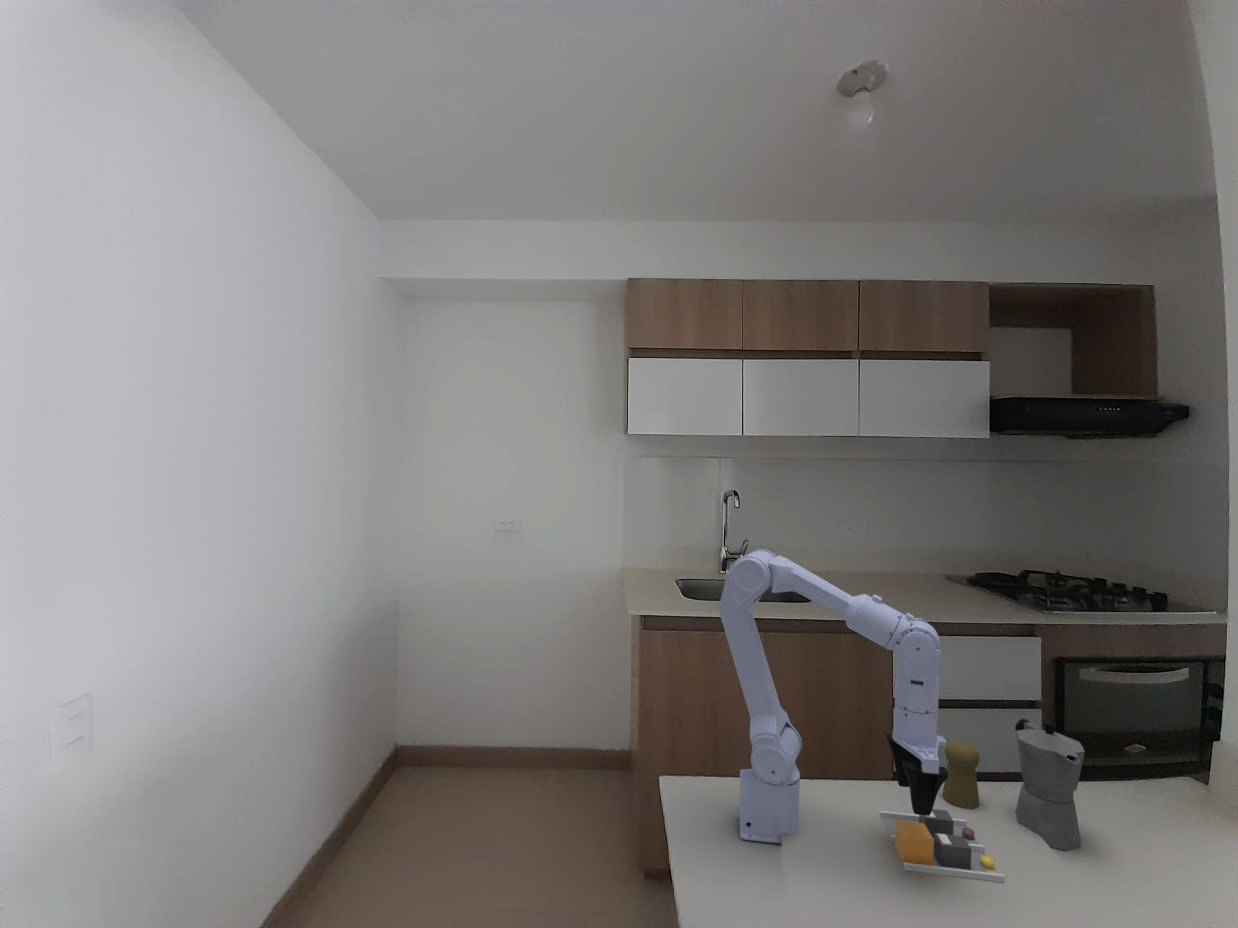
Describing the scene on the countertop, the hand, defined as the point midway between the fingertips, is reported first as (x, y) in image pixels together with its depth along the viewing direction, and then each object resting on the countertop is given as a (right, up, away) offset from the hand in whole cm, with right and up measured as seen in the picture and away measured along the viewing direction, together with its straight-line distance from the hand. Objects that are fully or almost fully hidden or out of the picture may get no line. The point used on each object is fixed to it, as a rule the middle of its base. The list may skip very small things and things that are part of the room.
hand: (913, 799), depth 92 cm
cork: (+16, -10, +16) cm, 25 cm away
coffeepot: (+26, -11, +10) cm, 30 cm away
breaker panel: (+5, -10, +3) cm, 11 cm away
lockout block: (0, -8, 0) cm, 8 cm away
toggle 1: (+6, -9, +6) cm, 12 cm away
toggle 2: (+5, -9, -1) cm, 10 cm away
